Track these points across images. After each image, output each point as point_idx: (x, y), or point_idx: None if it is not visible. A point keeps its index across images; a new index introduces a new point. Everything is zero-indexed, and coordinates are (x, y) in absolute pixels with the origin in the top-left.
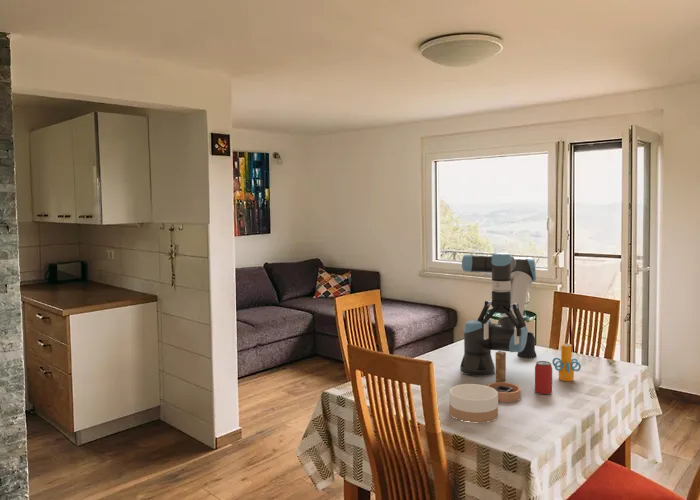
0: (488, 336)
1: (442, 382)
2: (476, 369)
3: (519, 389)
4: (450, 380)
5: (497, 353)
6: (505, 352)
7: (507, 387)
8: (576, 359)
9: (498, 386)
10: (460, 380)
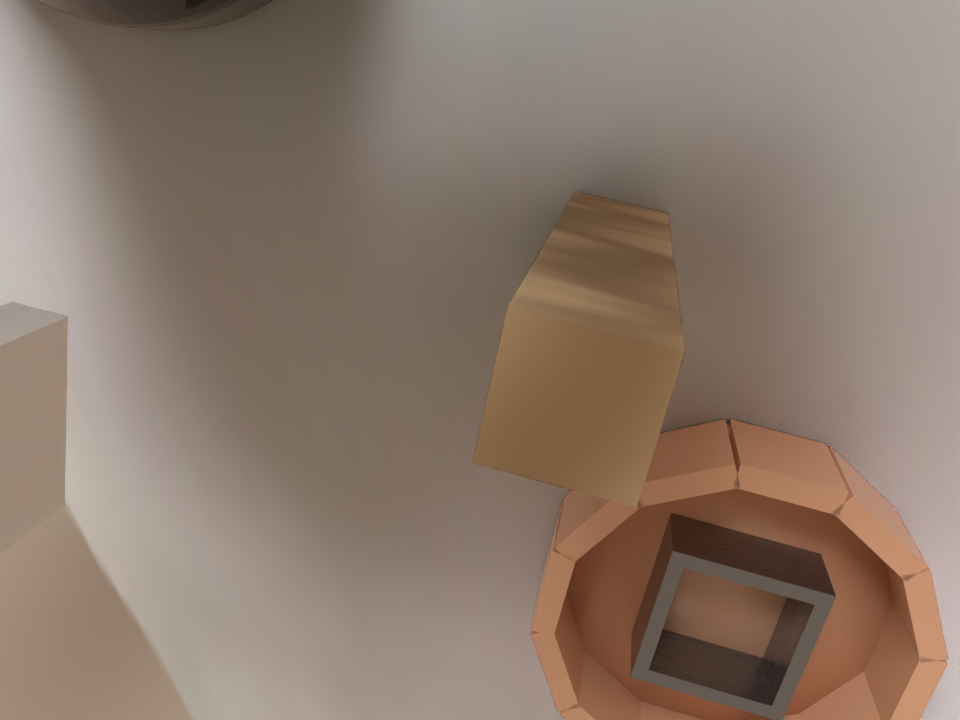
0: (21, 337)
1: None
2: (180, 8)
3: (931, 656)
4: None
5: (520, 466)
6: (681, 357)
7: (765, 588)
8: None
9: None
10: (143, 270)
